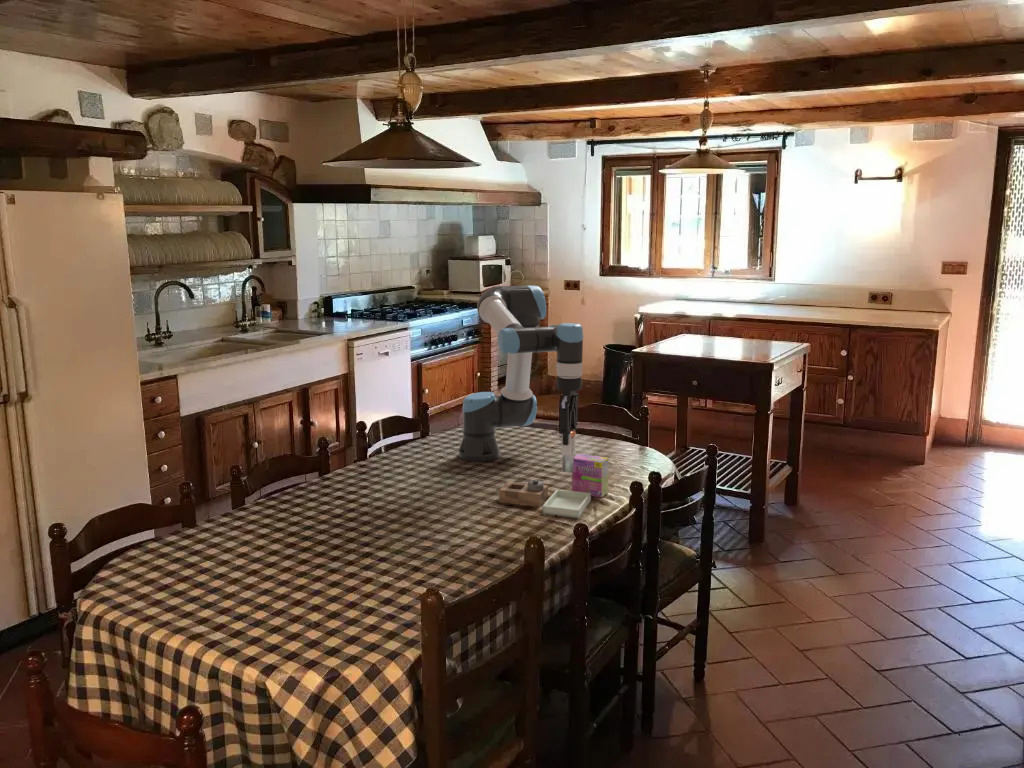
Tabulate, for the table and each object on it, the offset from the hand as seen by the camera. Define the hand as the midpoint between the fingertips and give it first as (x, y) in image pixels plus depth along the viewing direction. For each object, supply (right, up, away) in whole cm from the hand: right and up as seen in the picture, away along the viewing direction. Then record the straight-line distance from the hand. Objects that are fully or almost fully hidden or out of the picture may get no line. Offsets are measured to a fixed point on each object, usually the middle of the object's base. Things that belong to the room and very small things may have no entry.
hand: (568, 452), depth 245 cm
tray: (0, -17, +4) cm, 17 cm away
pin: (0, -6, +1) cm, 6 cm away
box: (+8, -15, +16) cm, 23 cm away
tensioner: (-13, -16, +10) cm, 23 cm away
